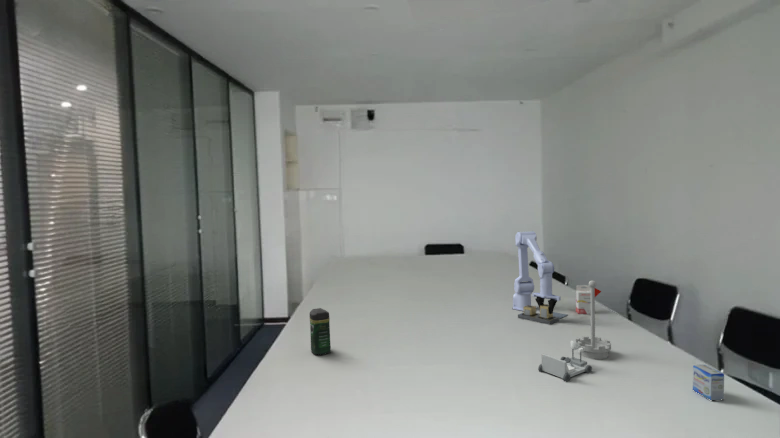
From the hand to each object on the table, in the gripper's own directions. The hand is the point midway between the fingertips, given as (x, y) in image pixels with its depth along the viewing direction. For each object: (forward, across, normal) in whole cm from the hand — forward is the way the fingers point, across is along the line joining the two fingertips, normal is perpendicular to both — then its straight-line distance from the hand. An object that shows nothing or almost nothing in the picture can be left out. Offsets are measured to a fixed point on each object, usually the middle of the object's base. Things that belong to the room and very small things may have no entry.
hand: (546, 312), depth 233 cm
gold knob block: (+2, 0, 0) cm, 2 cm away
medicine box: (+4, +79, -42) cm, 90 cm away
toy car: (+5, +38, -53) cm, 65 cm away
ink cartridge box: (+5, +7, +27) cm, 28 cm away
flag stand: (+4, +37, -30) cm, 48 cm away
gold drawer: (+4, -9, 0) cm, 10 cm away
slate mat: (+4, -2, +12) cm, 13 cm away
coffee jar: (+4, -48, -104) cm, 115 cm away
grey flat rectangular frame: (+4, -5, 0) cm, 6 cm away
